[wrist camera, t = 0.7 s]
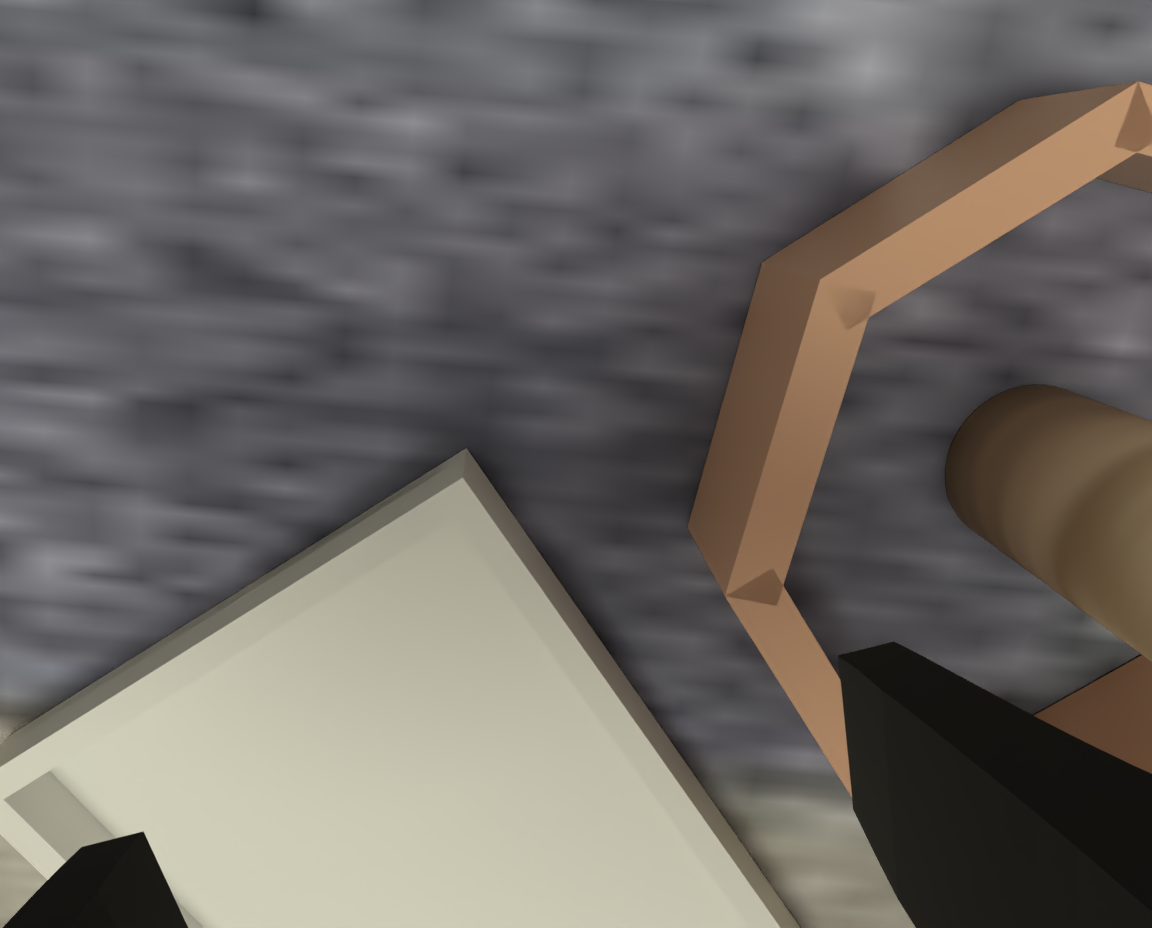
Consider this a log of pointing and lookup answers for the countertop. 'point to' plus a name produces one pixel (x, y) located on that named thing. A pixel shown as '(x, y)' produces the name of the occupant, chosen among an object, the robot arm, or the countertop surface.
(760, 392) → the octagonal open frame
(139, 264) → the countertop surface
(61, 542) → the countertop surface
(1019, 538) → the wooden pin
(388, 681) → the cream tray
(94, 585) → the countertop surface
